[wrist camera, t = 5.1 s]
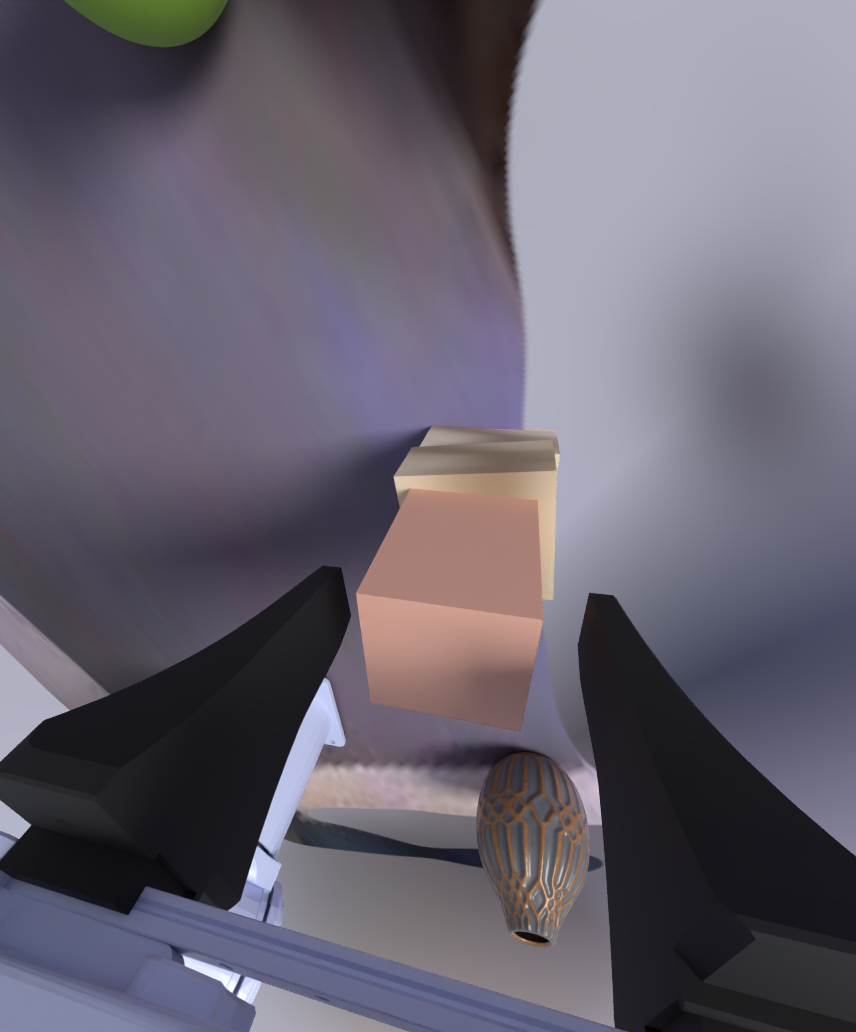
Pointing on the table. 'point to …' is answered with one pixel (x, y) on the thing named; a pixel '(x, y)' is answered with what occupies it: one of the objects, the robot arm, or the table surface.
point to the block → (455, 607)
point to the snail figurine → (152, 19)
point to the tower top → (492, 481)
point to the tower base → (487, 436)
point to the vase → (532, 844)
